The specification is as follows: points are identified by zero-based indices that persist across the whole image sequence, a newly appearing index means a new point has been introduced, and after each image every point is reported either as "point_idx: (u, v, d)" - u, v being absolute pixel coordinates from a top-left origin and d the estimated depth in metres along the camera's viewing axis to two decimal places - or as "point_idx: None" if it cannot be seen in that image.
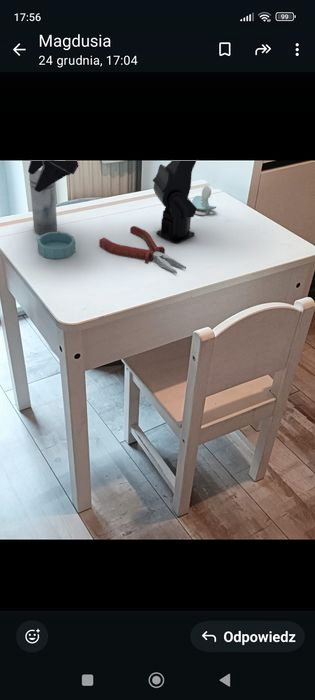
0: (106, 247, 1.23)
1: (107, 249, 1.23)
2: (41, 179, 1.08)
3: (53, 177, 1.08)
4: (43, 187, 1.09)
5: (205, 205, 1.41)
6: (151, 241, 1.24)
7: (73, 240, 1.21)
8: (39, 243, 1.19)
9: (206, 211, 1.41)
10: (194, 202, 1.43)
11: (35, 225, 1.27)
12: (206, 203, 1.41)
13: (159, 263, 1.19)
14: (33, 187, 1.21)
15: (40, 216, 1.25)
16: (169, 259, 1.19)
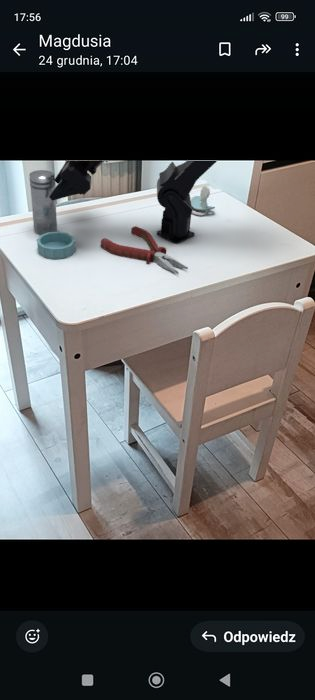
0: (107, 248, 1.23)
1: (108, 249, 1.23)
2: (57, 190, 1.18)
3: (67, 191, 1.18)
4: (57, 197, 1.19)
5: (204, 205, 1.41)
6: (152, 241, 1.24)
7: (73, 240, 1.21)
8: (39, 243, 1.19)
9: (205, 211, 1.40)
10: (193, 202, 1.42)
11: (35, 225, 1.27)
12: (205, 203, 1.41)
13: (161, 263, 1.19)
14: (33, 187, 1.21)
15: (40, 216, 1.25)
16: (171, 259, 1.19)
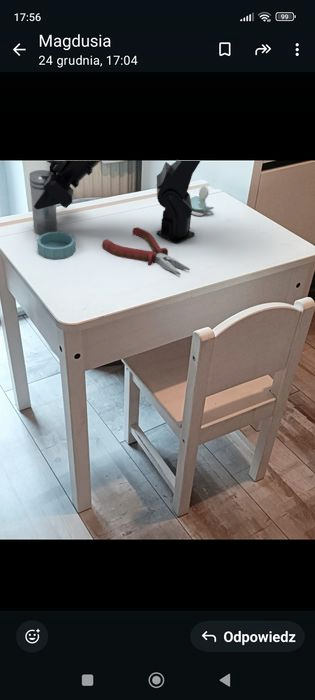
0: (109, 249, 1.22)
1: (110, 251, 1.22)
2: (41, 200, 1.21)
3: (51, 201, 1.21)
4: (41, 206, 1.22)
5: (202, 205, 1.41)
6: (154, 242, 1.23)
7: (73, 240, 1.21)
8: (39, 243, 1.19)
9: (203, 212, 1.40)
10: (191, 202, 1.42)
11: (35, 225, 1.27)
12: (203, 203, 1.40)
13: (162, 265, 1.19)
14: (33, 187, 1.21)
15: (40, 216, 1.25)
16: (172, 261, 1.19)
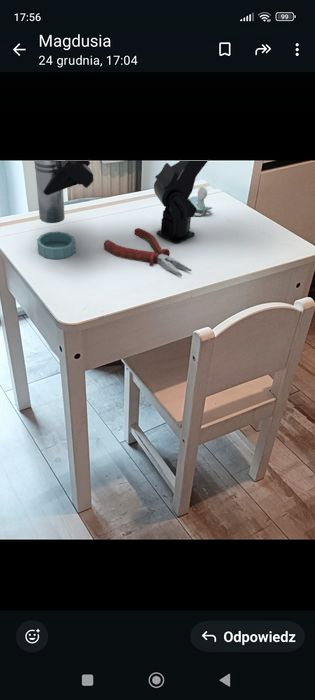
0: (110, 250, 1.22)
1: (111, 252, 1.22)
2: (52, 183, 1.11)
3: (64, 184, 1.12)
4: (52, 191, 1.13)
5: (201, 206, 1.41)
6: (156, 243, 1.23)
7: (73, 240, 1.21)
8: (39, 243, 1.19)
9: (202, 212, 1.40)
10: None
11: (43, 213, 1.17)
12: (202, 204, 1.40)
13: (164, 266, 1.18)
14: (41, 171, 1.11)
15: (49, 202, 1.15)
16: (174, 262, 1.19)
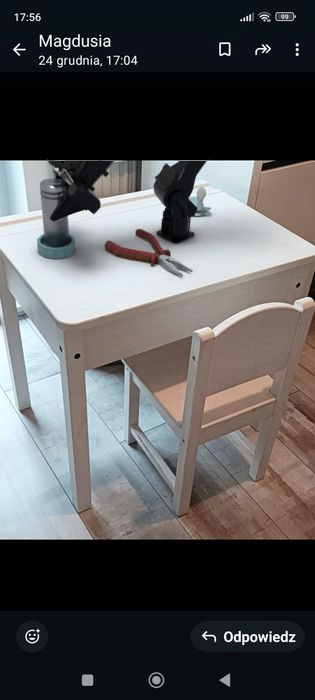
0: (111, 250, 1.22)
1: (112, 252, 1.22)
2: (59, 210, 1.13)
3: (70, 210, 1.14)
4: (58, 217, 1.14)
5: (200, 206, 1.41)
6: (157, 244, 1.23)
7: (73, 240, 1.21)
8: (39, 243, 1.19)
9: (201, 212, 1.40)
10: None
11: (49, 238, 1.18)
12: (201, 204, 1.40)
13: (165, 266, 1.18)
14: (48, 198, 1.12)
15: (55, 228, 1.16)
16: (175, 262, 1.18)
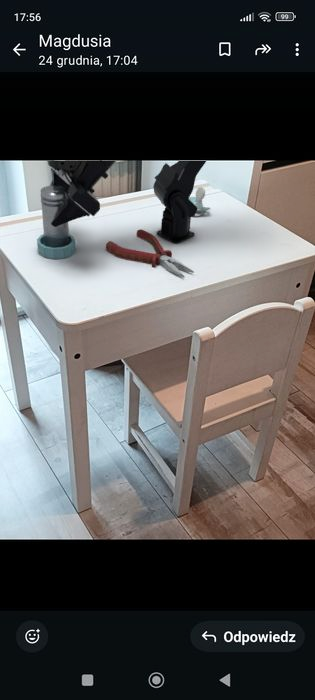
0: (112, 251, 1.22)
1: (113, 253, 1.22)
2: (60, 216, 1.12)
3: (72, 215, 1.12)
4: (60, 223, 1.13)
5: (199, 206, 1.40)
6: (158, 245, 1.23)
7: (73, 240, 1.21)
8: (39, 243, 1.19)
9: (200, 212, 1.40)
10: None
11: (49, 245, 1.19)
12: (200, 204, 1.40)
13: (166, 267, 1.18)
14: (48, 205, 1.13)
15: (55, 234, 1.17)
16: (176, 263, 1.18)
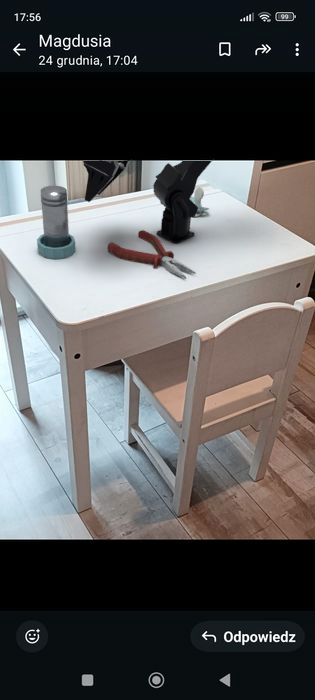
0: (114, 252, 1.21)
1: (115, 254, 1.21)
2: (89, 188, 1.11)
3: (98, 184, 1.10)
4: (91, 196, 1.12)
5: (198, 206, 1.40)
6: (160, 246, 1.23)
7: (73, 240, 1.21)
8: (39, 243, 1.19)
9: (199, 212, 1.40)
10: None
11: (49, 245, 1.19)
12: (199, 204, 1.40)
13: (168, 268, 1.18)
14: (48, 205, 1.13)
15: (55, 234, 1.17)
16: (178, 264, 1.18)
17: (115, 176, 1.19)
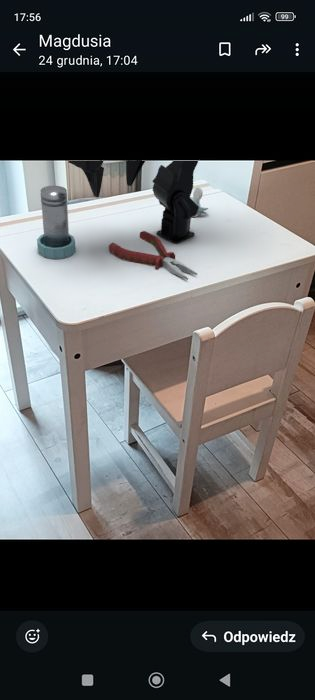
0: (115, 253, 1.21)
1: (117, 255, 1.21)
2: (91, 184, 1.12)
3: (94, 179, 1.10)
4: (96, 191, 1.12)
5: None
6: (161, 246, 1.22)
7: (73, 240, 1.21)
8: (39, 243, 1.19)
9: (197, 213, 1.40)
10: None
11: (49, 245, 1.19)
12: (197, 204, 1.40)
13: (170, 269, 1.17)
14: (48, 205, 1.13)
15: (55, 234, 1.17)
16: (180, 265, 1.18)
17: (137, 164, 1.15)
